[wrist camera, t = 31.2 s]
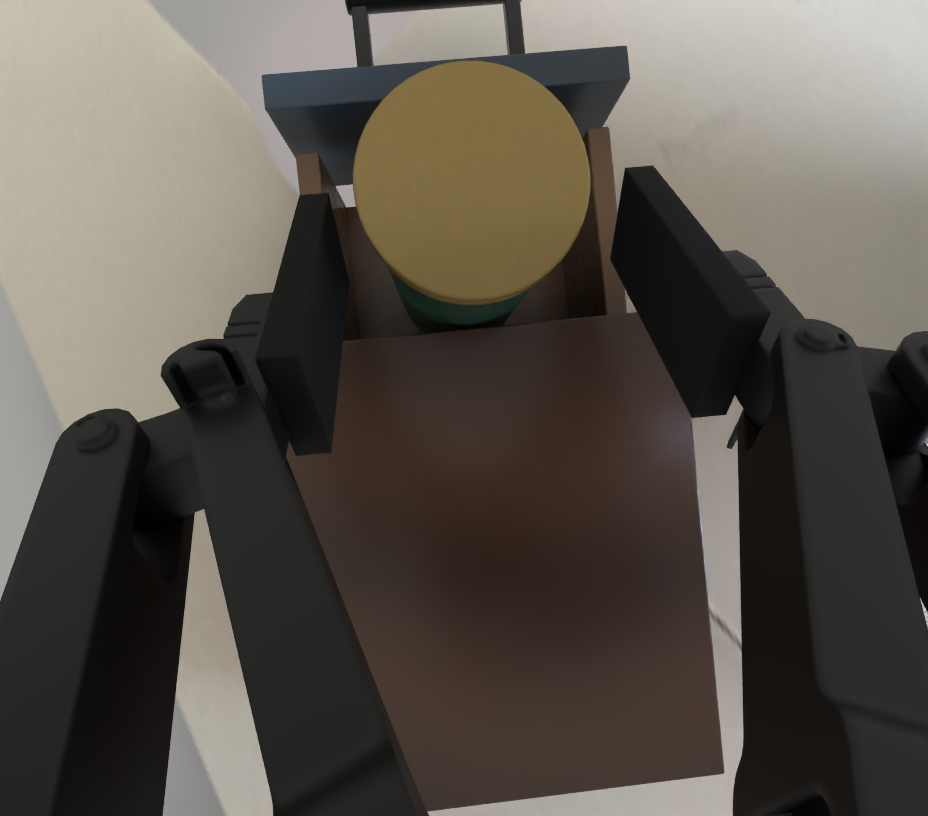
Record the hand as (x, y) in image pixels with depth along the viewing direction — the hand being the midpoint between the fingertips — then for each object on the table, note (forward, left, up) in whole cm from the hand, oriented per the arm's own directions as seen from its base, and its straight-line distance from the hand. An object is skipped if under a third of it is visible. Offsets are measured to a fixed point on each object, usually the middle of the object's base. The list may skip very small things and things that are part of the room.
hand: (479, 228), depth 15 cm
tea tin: (0, 0, -9) cm, 9 cm away
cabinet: (+9, +5, -12) cm, 15 cm away
